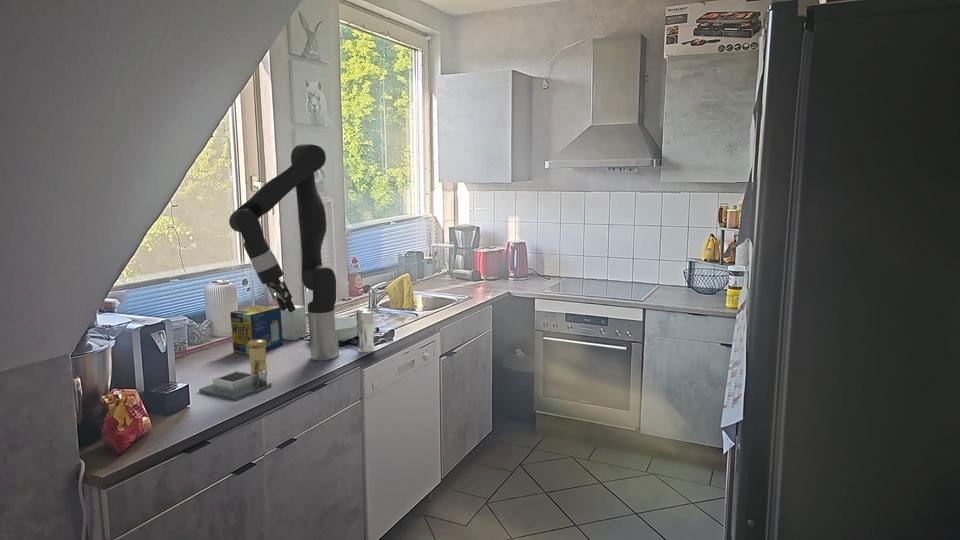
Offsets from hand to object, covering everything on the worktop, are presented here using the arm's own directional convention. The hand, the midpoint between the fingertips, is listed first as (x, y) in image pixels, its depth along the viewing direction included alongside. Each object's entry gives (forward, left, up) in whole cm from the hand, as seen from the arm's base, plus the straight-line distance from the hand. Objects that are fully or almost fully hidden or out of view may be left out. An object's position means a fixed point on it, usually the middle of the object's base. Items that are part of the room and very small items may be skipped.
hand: (288, 310), depth 214 cm
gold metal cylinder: (+10, -5, -21) cm, 23 cm away
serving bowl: (-37, -13, -21) cm, 45 cm away
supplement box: (-31, -31, -21) cm, 49 cm away
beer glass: (-30, +7, -21) cm, 37 cm away
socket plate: (+22, -2, -21) cm, 30 cm away
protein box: (-13, -31, -21) cm, 40 cm away
